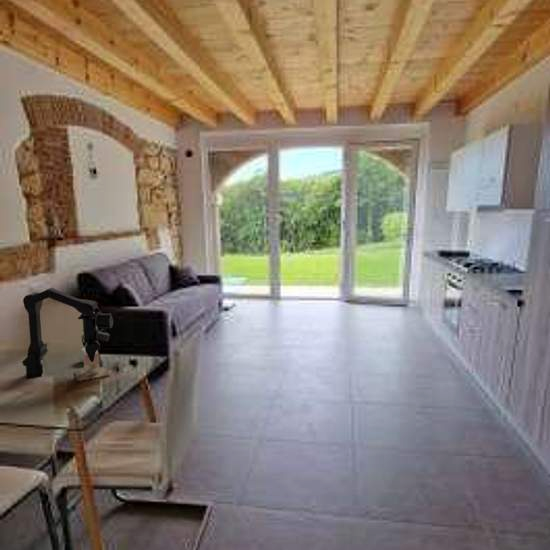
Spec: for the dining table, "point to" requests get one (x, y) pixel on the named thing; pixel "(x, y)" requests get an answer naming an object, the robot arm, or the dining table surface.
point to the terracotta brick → (87, 360)
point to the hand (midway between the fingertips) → (91, 359)
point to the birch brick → (91, 369)
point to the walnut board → (102, 373)
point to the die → (81, 355)
